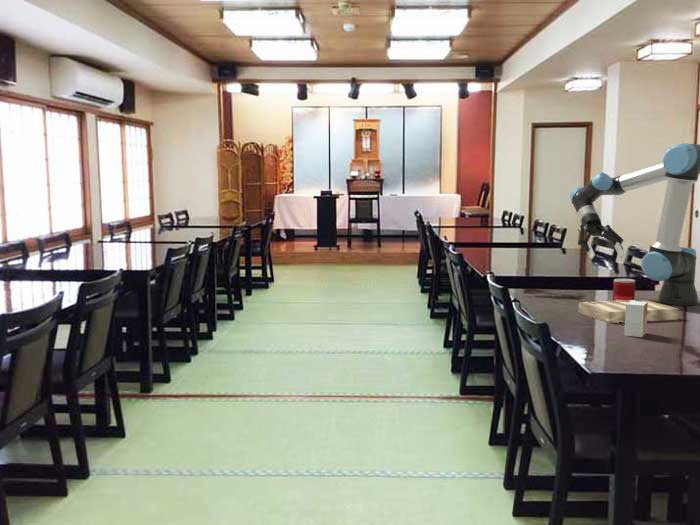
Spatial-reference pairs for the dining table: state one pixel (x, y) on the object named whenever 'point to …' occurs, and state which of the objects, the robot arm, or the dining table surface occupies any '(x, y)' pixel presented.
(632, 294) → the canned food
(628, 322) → the small box
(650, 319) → the maple plank
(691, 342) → the dining table surface
